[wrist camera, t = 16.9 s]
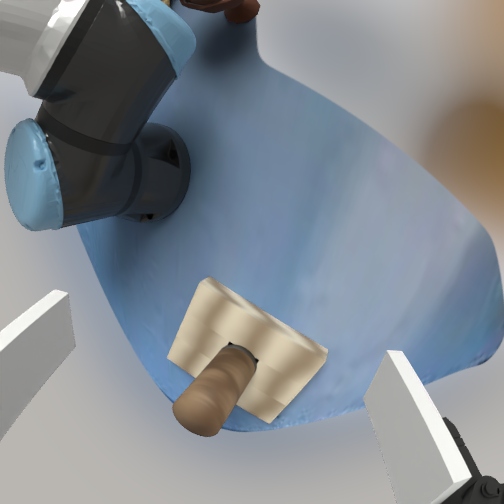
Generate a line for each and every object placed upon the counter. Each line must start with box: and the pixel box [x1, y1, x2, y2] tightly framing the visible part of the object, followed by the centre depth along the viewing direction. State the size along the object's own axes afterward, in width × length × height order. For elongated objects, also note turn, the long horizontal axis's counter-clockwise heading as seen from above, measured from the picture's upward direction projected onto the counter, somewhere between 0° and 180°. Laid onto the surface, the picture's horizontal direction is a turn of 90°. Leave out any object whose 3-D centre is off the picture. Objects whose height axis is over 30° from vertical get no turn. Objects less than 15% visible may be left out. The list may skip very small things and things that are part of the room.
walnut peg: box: [172, 344, 257, 437], centre depth 36 cm, size 6×6×16 cm
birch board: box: [167, 276, 328, 424], centre depth 42 cm, size 20×16×3 cm
